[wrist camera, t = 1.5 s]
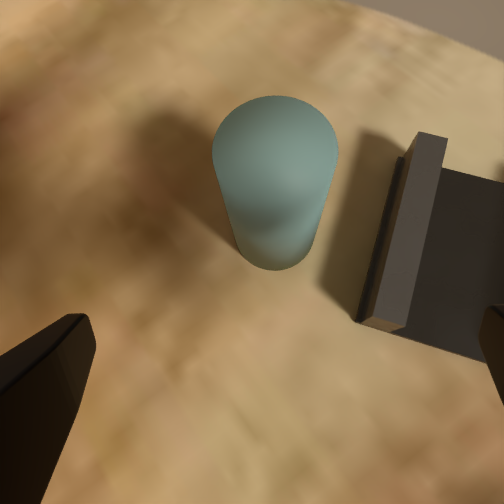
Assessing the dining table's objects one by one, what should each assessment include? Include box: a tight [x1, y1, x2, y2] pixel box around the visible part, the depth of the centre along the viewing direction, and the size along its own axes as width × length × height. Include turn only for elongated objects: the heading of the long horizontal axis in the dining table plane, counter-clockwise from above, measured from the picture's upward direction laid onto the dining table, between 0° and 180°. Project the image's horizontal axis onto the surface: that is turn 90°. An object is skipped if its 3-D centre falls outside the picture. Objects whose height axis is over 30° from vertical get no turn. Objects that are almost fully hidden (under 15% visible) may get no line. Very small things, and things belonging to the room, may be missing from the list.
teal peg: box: [212, 96, 338, 271], centre depth 19 cm, size 4×4×9 cm
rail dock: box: [355, 132, 504, 364], centre depth 21 cm, size 10×10×3 cm
